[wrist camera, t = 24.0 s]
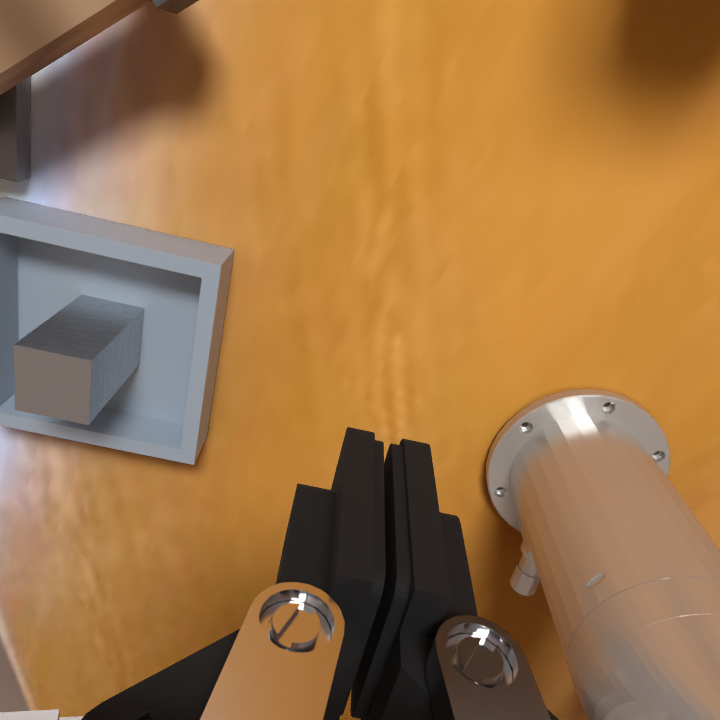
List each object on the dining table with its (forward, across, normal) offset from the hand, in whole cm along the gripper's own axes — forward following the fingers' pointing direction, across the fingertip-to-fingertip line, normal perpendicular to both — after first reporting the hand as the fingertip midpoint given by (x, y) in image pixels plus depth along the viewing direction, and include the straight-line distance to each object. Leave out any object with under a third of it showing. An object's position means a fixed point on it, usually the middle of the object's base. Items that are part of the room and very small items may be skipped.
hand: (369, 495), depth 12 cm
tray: (+27, +15, +11) cm, 33 cm away
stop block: (+27, +15, +11) cm, 32 cm away
